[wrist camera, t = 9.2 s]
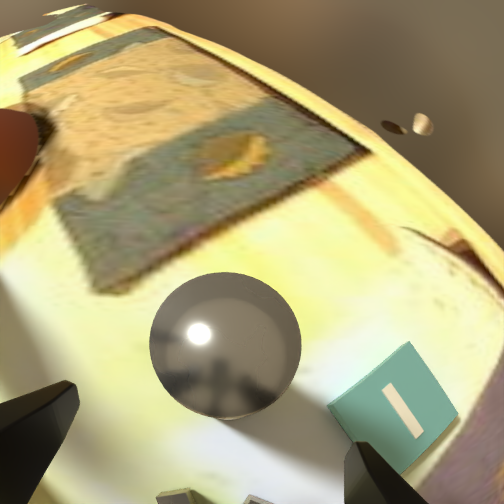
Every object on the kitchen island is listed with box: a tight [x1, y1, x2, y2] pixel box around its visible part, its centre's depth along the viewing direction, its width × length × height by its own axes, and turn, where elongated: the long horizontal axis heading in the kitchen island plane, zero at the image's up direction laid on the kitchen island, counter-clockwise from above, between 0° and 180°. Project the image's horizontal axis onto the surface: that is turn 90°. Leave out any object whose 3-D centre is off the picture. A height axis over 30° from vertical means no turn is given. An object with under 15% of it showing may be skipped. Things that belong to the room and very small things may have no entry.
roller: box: [149, 272, 301, 420], centre depth 13 cm, size 4×4×11 cm
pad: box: [327, 341, 458, 475], centre depth 17 cm, size 7×7×1 cm
